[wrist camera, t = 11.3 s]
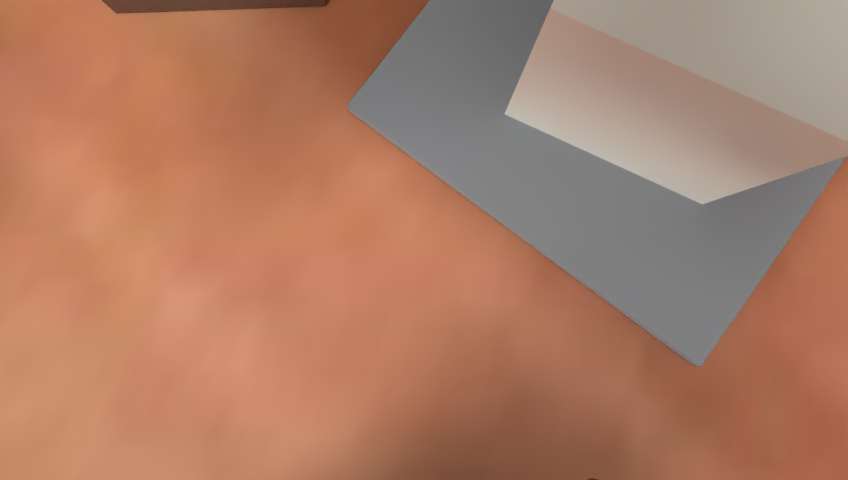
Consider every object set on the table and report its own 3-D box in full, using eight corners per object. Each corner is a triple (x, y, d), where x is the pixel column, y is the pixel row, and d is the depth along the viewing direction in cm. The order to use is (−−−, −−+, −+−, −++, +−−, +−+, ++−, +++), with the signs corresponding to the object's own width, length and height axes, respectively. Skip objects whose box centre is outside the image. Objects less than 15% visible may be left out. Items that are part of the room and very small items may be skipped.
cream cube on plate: (702, 204, 19) (865, 149, 12) (504, 114, 19) (549, 8, 12) (783, 16, 19) (984, -142, 12) (590, -69, 20) (680, -270, 13)
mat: (923, 31, 20) (938, 23, 19) (691, 364, 19) (700, 366, 18) (589, -195, 21) (593, -209, 20) (349, 111, 20) (347, 106, 19)
